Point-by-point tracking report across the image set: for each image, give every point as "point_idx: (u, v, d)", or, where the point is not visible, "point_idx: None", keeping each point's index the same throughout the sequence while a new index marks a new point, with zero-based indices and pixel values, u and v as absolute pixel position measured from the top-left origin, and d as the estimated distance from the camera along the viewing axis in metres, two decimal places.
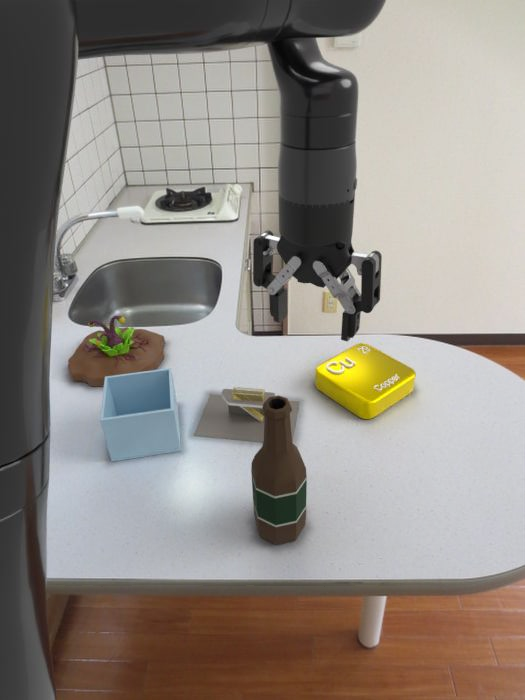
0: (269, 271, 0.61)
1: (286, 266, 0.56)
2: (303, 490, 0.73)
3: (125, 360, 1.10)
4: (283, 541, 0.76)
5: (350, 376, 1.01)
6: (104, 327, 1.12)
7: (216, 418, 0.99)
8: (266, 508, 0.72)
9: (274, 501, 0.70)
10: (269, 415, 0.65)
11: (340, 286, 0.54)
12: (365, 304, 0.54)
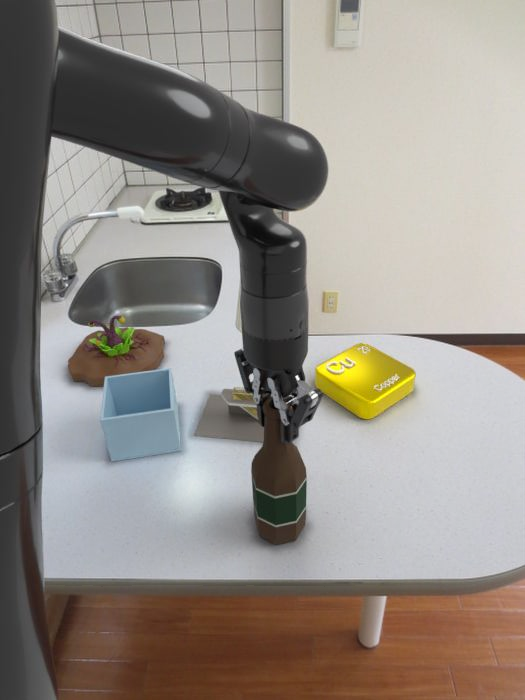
0: None
1: None
2: (303, 490, 0.73)
3: (125, 360, 1.10)
4: (283, 541, 0.76)
5: (350, 376, 1.01)
6: (104, 327, 1.12)
7: (216, 418, 0.99)
8: (266, 508, 0.72)
9: (274, 501, 0.70)
10: (269, 415, 0.65)
11: (282, 404, 0.62)
12: (294, 422, 0.62)
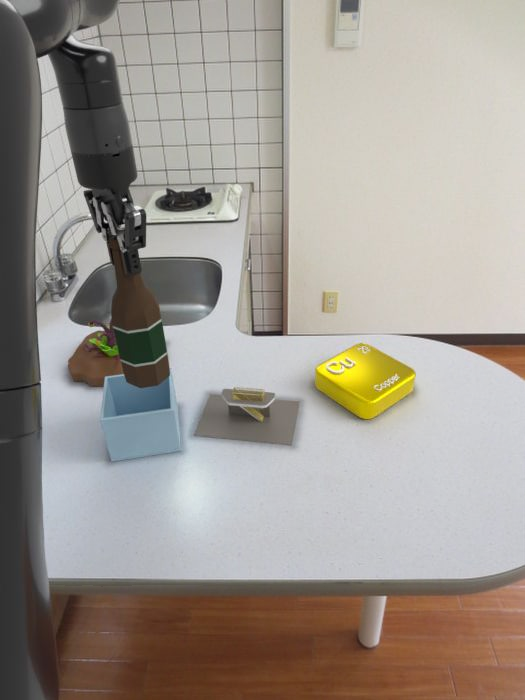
0: None
1: None
2: (159, 332, 0.80)
3: None
4: (145, 384, 0.83)
5: (350, 376, 1.01)
6: (104, 327, 1.12)
7: (216, 418, 0.99)
8: (124, 347, 0.79)
9: (127, 337, 0.77)
10: (112, 246, 0.72)
11: (116, 229, 0.68)
12: (127, 245, 0.68)
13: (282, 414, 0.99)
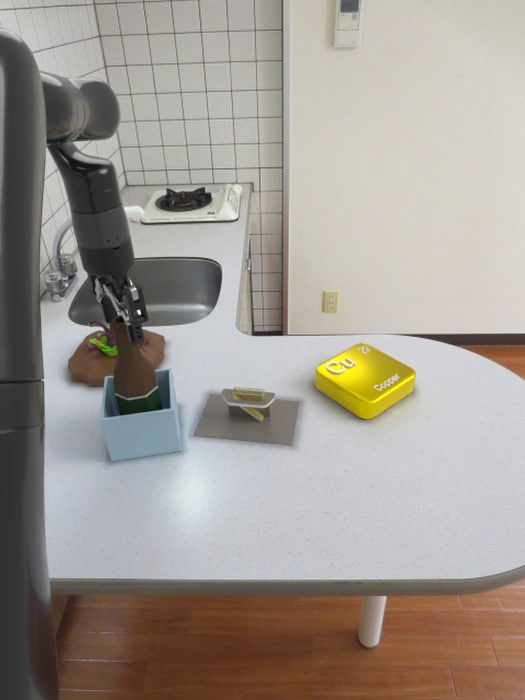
0: None
1: (96, 284, 0.80)
2: (155, 397, 0.90)
3: None
4: None
5: (350, 376, 1.01)
6: (104, 327, 1.12)
7: (216, 418, 0.99)
8: (124, 411, 0.89)
9: (128, 403, 0.87)
10: (114, 328, 0.82)
11: (119, 304, 0.77)
12: (130, 320, 0.76)
13: (282, 414, 0.99)
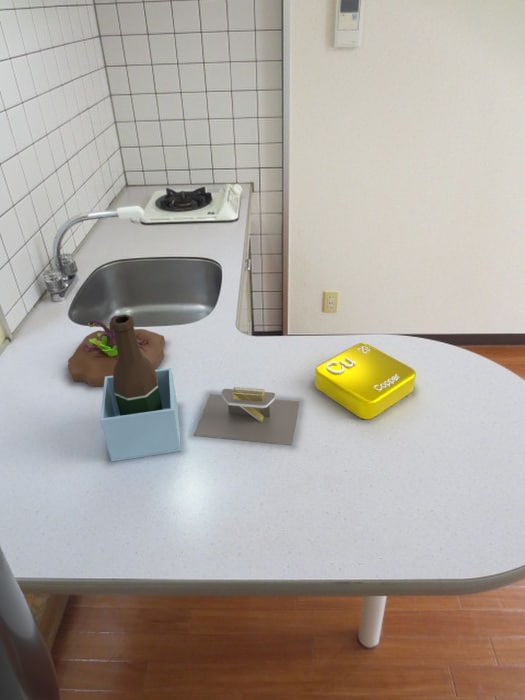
0: None
1: None
2: (155, 397, 0.90)
3: None
4: None
5: (350, 376, 1.01)
6: (104, 327, 1.12)
7: (216, 418, 0.99)
8: (124, 411, 0.89)
9: (128, 403, 0.87)
10: (114, 328, 0.82)
11: None
12: None
13: (282, 414, 0.99)
